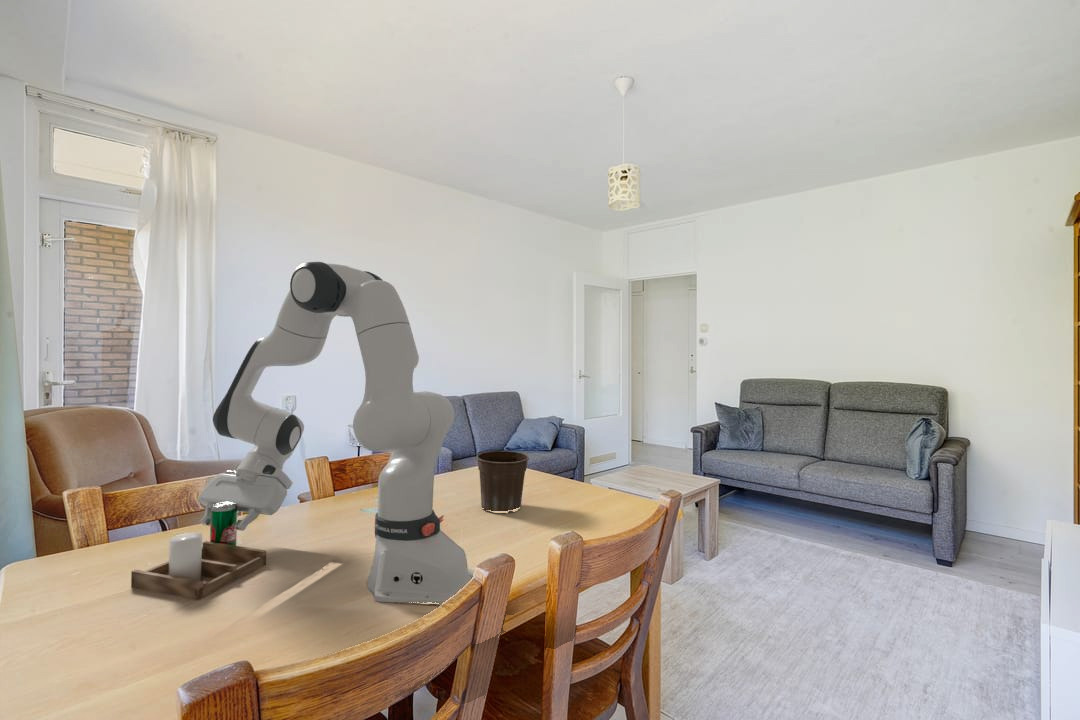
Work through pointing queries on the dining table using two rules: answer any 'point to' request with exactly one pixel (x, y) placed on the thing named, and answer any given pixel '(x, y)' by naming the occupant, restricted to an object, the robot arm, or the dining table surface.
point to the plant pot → (501, 479)
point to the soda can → (223, 523)
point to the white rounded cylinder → (186, 556)
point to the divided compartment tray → (203, 571)
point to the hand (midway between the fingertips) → (221, 526)
